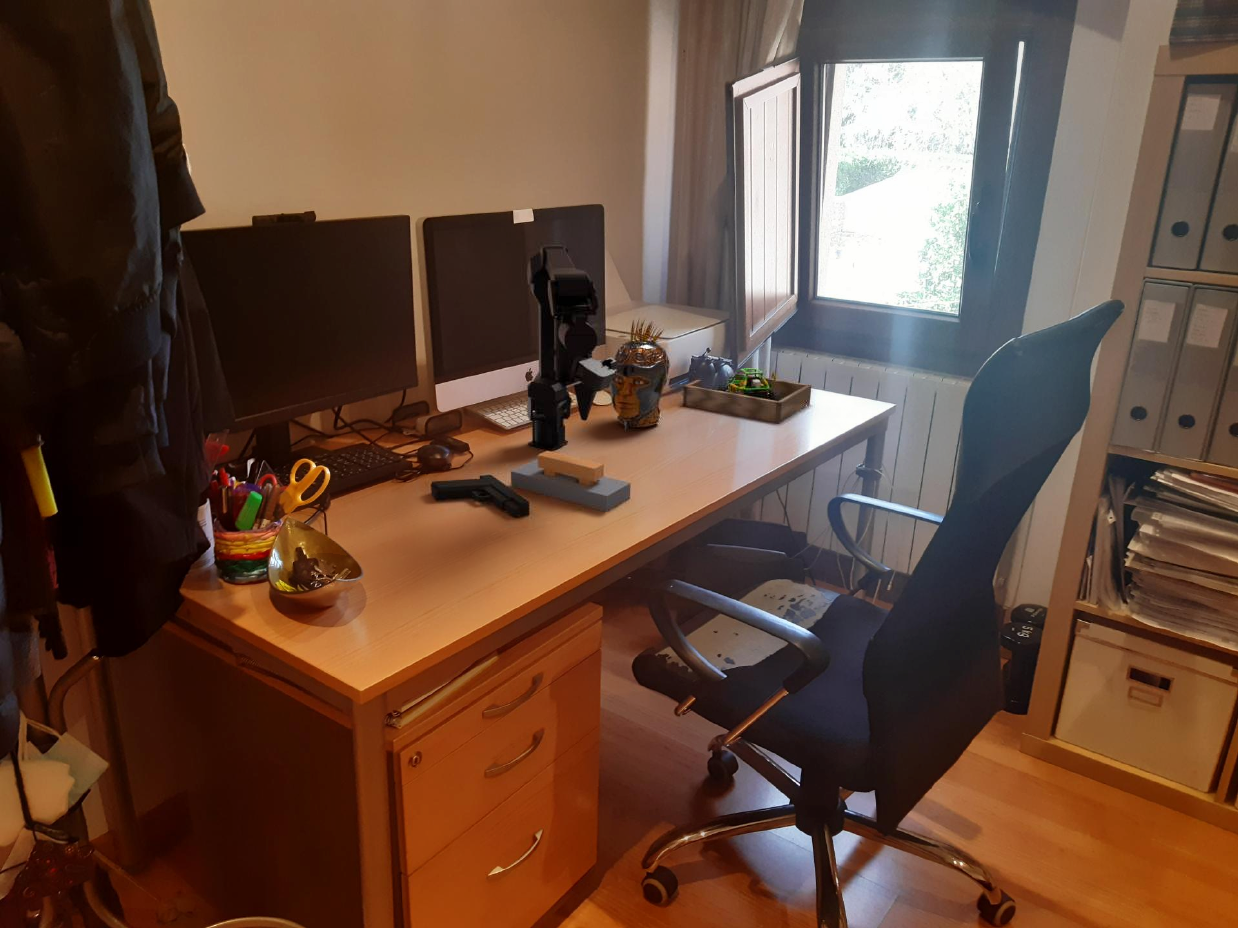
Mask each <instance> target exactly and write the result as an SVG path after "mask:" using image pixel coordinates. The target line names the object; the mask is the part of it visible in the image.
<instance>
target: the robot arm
mask: <svg viewBox="0 0 1238 928" xmlns="http://www.w3.org/2000/svg"><path fill="white" fill-rule="evenodd" d="M526 270H527V272H526V273H527V274H526V275H527V276H526V277H527V284H528V285H529V286H530V292H531V293H532V295H533V297H534V298H535V300H536V302H537V303H538V308H537V310H538V312H537V313H538V315H537V316H538V372H537V374H536V376H535V377H534V379H533V380H532V381H530V382H529V383H528V384H527V386H526V389H527V391H526V392H527V393H526V395H527V402H526V412H527V413H526V415H527V417H528V420H529V421H530V422H531V425H532V427H531V430H532V431H531V433H532V434H531V435H532V438H531V439H532V440H531V441H528V442H527V445H528V446H531V447H534V448H539V449H544V450H546V451H553V450H556V449H558V448H559V447H562V446H564V445H566V444H568V443H569V441H568V440H566V425H565V423H564V422H565V421H564V420H569V418H570V417H571V407H572V402H573V398H572V397H571V395H570V392H569V391H568V388H571V387H573V388H574V393H575V398H576V403H577V408H578V413H579V416H580V420H581V421H587V420H588V419H589V416H590V412H591V409H592V405H593V403H594V400H595V398H596V395H597V393H598V392H599V393H600V392H602V391H603V390H604V389H610V385H611V382H612V379H614V378H616V377H617V373H616V372H617V363H616V360H615V358H613V357H609V358H606V359H604V360H603V361H602V360H601V359H598V360H597V359H594V358H593V351H594V350H595V349H596V347H597V345H598V335H597V332H596V330H595V328H593V326H592V325H590V323H589V316H597V310H598V309H599V300H598V295H597V289H596V286H595V285H594V280H593V279H590V275H589V274H588V273H587V272H586V271H585V270H582V269H577V268H576V267H575V265H574V263H573V262H572V259H571V257H570V256H569V250H568V247H567V246H565V245H563V244H559V245H553V244H552V245H551V244H549V245H547V244H546V245H544V246H540V250H539V252H538V253H536V254H535V255H533V256H532V257H531V258H529V260H528V263H527V269H526Z"/></svg>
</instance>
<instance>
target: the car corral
mask: <svg viewBox="0 0 1238 928" xmlns="http://www.w3.org/2000/svg"><path fill="white" fill-rule="evenodd" d="M734 373H735V375H736V374H737V373H738V372H734ZM743 376H746V373H741V372H740V373H739V374H738V375H737V376H736V377H743ZM748 377H755V375H748ZM756 377H757V375H756ZM759 377H760V382H761V384H763V383H762V379H761V376H759ZM763 378H764V379H765V380H766V381H767V383H768V385H769V384H771V390H777V391H778V392H779V393H780V396H781V400H780V401H774V400H768V399H762V398H757V397H751V396H746V395H740V394H734V393H729V392H728V391H726V392H723V391H717V390H712V389H706V388H701V380H698V379H696V380H694V381H692V382H689V383H687V384H684V386H683V396H682V397H683V398H682V400H683V401H682V405H683V406H687V407H692V408H698V409H702V410H703V409H704V410H709V411H714V412H718V413H724V414H729V415H734V416H740V417H746V418H751V419H756V420H760V421H766V422H771V423H776V424H780V423H781V422H783V421H785V420H786V419H788V418H790V417H791V416H793V415H794V413H795V414H796V413H798V412H799V411H801V410H802V408H803V407H804V408H806V407H807V406H806V405H808V406H809V405H810V404H811V396H812V395H811V393H812V385H811V384H806V383H800V382H794V381H787V380H782V379H776V382H775V381H774V379H773V378H771V377H764V376H763ZM736 380H743V378H735V381H736ZM770 380H771V383H770ZM763 385H764V384H763ZM767 393H769V389H767ZM739 404H740V406H739ZM805 406H806V407H805ZM804 408H803V409H804ZM800 409H801V410H800ZM797 411H798V412H797ZM792 414H793V415H792ZM789 416H790V417H789Z"/></svg>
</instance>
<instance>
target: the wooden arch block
mask: <svg viewBox="0 0 1238 928" xmlns="http://www.w3.org/2000/svg"><path fill="white" fill-rule="evenodd" d="M537 460H538V467H539V468H543V469H544V475H548V476H551V477H557V476H559V475H561V474H566V475H570V476H574V477H578V478H579V484H583V485H587V486H592V485H593V484H595V483H597V480H599V479H600V478H602V477H605V474H604V470H605V467H604V463H601V462H600V463H599V462H596V461H592V460H587V459H583V458H579V457H576V456H571V455H567V454H563V453H560V452H559V453H558V452H554V451H551V450H546V451H544V452H542V453H539V454H538V455H537Z"/></svg>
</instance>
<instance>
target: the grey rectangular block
mask: <svg viewBox="0 0 1238 928" xmlns="http://www.w3.org/2000/svg"><path fill="white" fill-rule="evenodd" d="M510 486H511V487H514V488H518V489H520V490H521V489H522V490H525V491H529V492H533V493H536V494H541V495H544V496H548V497H552V498H556V499H559V500H563V501H566V502H570V503H573V504H578V505H582V506H585V507H589V508H592V509H595V510H599V511H602V512H603V511H604V512H608V511H610V510H612V509H614V508H616V507H617V506H619V505H621V504H622V503H624V502H626V501H627V500H628V499H631V482H628V481H624V480H620V479H617V478H616V479H615V478H612V477H607V476H604V477H602V478H600V479H599V480H597V483H595V484H593V485H592V486H587V485H583V484H579V478H578V477H574V476H570V475H566V474H561V475H559V476H557V477H551V476H548V475H544V469H543V468H539V467H538V459H535V460H532V461H531V462H529V463H526V464H524V465H521V466H519V467H517V468H515V469H513V470H510Z"/></svg>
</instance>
